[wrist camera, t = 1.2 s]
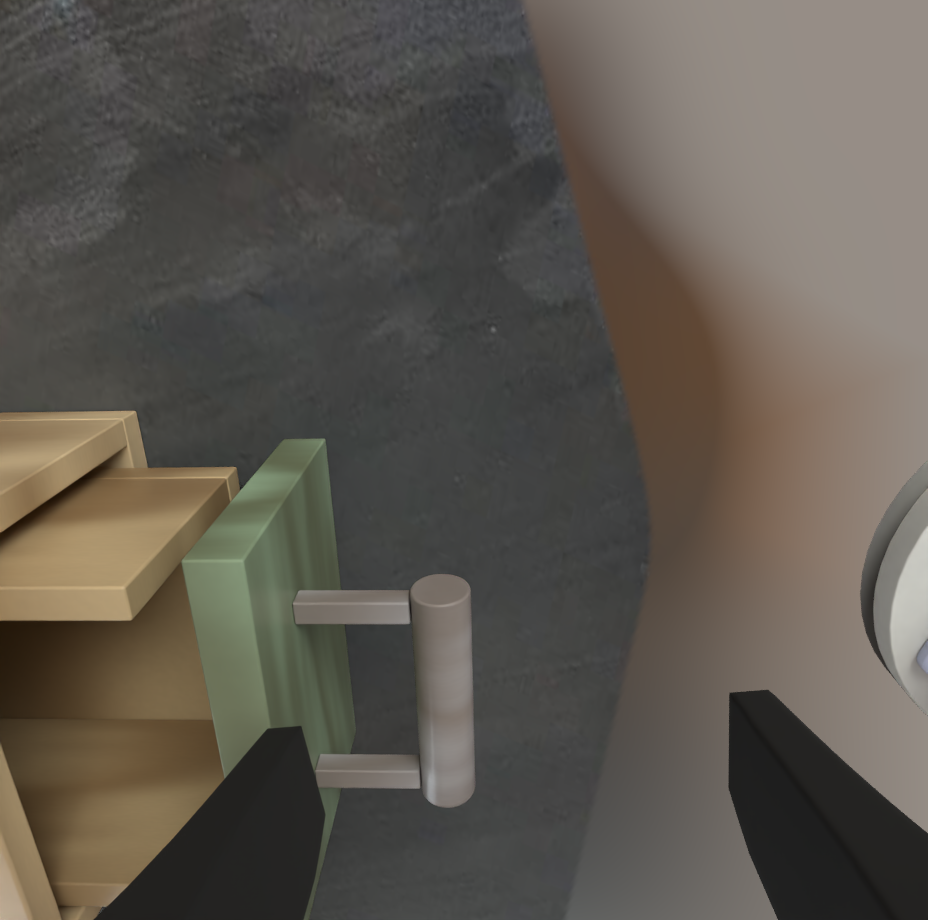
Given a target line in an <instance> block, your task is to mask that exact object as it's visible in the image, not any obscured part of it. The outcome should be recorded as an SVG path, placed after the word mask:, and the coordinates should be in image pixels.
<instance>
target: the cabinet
mask: <svg viewBox="0 0 928 920" xmlns="http://www.w3.org/2000/svg"><path fill="white" fill-rule="evenodd" d="M94 468H148V466H147V461H146V456H145V451H144V447H143V442H142V437H141V432H140V427H139V423H138V418H137V413H136V411H86V412H9V413H0V533H1V532H2V531H4V530H5V529H7V528H8V527H10V526H11V525H13V524H14V523H16V522H17V521H18V520H20V519H21V518H23V517H24V516H26V515H27V514H29V513H30V512H31V511H33V510H34V509H36V508H37V507H39V506H40V505H42V504H43V503H45V502H46V501H47V500H49V499H50V498H52V497H53V496H55V495H56V494H58V493H59V492H60V491H62V490H63V489H65V488H66V487H68V486H69V485H71V484H72V483H74V482H75V481H76V480H78V479H79V478H81V477H82V476H84V475H85V474H87V473H88V472H90V471H91V470H92V469H94ZM101 908H102V907H93V906H57V903H56V900H55V897H54V894H53V892H52V889H51V886H50V883H49V880H48V877H47V874H46V871H45V869H44V866H43V863H42V860H41V857H40V854H39V851H38V849H37V846H36V843H35V840H34V837H33V834H32V831H31V828H30V826H29V823H28V820H27V817H26V814H25V811H24V808H23V806H22V803H21V800H20V797H19V794H18V791H17V788H16V785H15V783H14V780H13V777H12V774H11V771H10V768H9V765H8V763H7V760H6V757H5V754H4V751H3V748H2V745H1V742H0V920H94V919H95V918H96V917H97V915H98V913H99V912H100V910H101Z"/></svg>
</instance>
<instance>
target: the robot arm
mask: <svg viewBox="0 0 928 920" xmlns="http://www.w3.org/2000/svg"><path fill="white" fill-rule="evenodd" d="M917 663H918V664H919V666H920V667H921V668H922V669H923V670H924V671H925V673H927V674H928V640H927V642H926V643H925V644H924V646H923V647H922V649H921V650H920V651H919V653H918V656H917ZM729 701H730V702H729V791H730V794H731V797H732V801H733V804H734V807H735V810H736V814H737V817H738V820H739V823H740V826H741V829H742V833H743V835H744V839H745V842H746V845H747V848H748V851H749V854H750V856H751V858H752V861H753V863H754V865H755V868H756V870H757V872H758V874H759V877H760V879H761V881H762V884H763V886H764V889H765V891H766V893H767V895H768V898H769V900H770V902H771V905H772V907H773V909H774V911H775V914H776V916H777V918H778V920H928V833H927V832H926V831H924V830H923V829H922V828H921V827H919V826H918V825H917V824H916V823H914V822H913V821H912V820H911V819H909V818H908V817H907V816H906V815H905V814H904V813H902V812H901V811H900V810H899V809H898V808H897V807H895V806H894V805H893V804H892V803H890V802H889V801H888V800H887V799H886V798H885V797H883V796H882V795H881V794H880V793H879V792H878V791H877V790H876V789H875V788H873V787H872V786H871V785H870V784H869V783H868V782H866V780H864V779H863V778H862V777H861V776H860V775H859V774H858V773H856V772H855V771H854V770H853V769H852V768H851V767H850V766H849V765H847V764H846V763H845V762H844V761H843V760H842V759H841V758H840V757H839V756H838V755H837V754H835V753H834V752H833V751H832V750H831V749H830V748H829V747H828V746H827V745H826V744H825V743H824V742H823V741H822V740H821V739H819V738H818V737H817V736H816V735H815V734H814V733H813V732H812V731H811V730H810V729H809V728H808V727H807V726H806V725H805V724H804V723H803V722H802V721H801V720H800V719H799V718H797V716H795V715H794V714H793V713H792V712H791V711H790V710H789V709H788V708H787V707H786V706H785V705H784V704H783V703H782V702H781V701H780V700H779V699H778V698H777V697H776V696H775V695H774V694H772V693H771V692H770V691H769V690H760V691H747V692H735V693H730V695H729ZM325 816H326V814H325V810H324V806H323V803H322V799H321V795H320V792H319V788H318V785H317V781H316V777H315V774H314V770H313V766H312V763H311V759H310V755H309V752H308V748H307V745H306V741H305V737H304V734H303V730H302V726H294V727H281V728H268V729H267V730H266V731H265V732H264V733H263V734H262V735H261V736H260V738H259V739H258V740H257V741H256V742H255V743H254V745H253V746H252V747H251V748H250V749H249V750H248V752H247V753H246V754H245V755H244V756H243V757H242V759H241V760H240V761H239V762H238V763H237V765H236V766H235V767H234V768H233V769H232V771H231V772H230V773H229V774H228V775H227V776H226V778H225V779H224V780H223V781H222V782H221V784H220V785H219V786H218V787H217V788H216V789H215V791H214V792H213V793H212V794H211V795H210V796H209V798H208V799H207V800H206V801H205V802H204V803H203V805H202V806H201V807H200V808H199V809H198V810H197V811H196V813H195V814H194V815H193V816H192V817H191V818H190V819H189V821H188V822H187V823H186V824H185V825H184V826H183V827H182V829H181V830H180V831H179V832H178V833H177V834H176V835H175V836H174V838H173V839H172V840H171V841H170V842H169V843H168V844H167V845H166V846H165V847H164V848H163V849H162V850H161V851H160V852H159V854H158V855H157V856H156V857H155V858H154V859H153V860H152V861H151V862H150V863H149V864H148V865H147V866H146V867H145V868H144V869H143V871H142V872H141V873H140V874H139V875H138V876H137V877H136V878H135V879H134V880H133V881H132V882H131V883H130V884H129V885H128V886H127V887H126V888H125V889H124V890H123V891H122V892H121V893H120V894H119V895H118V896H117V897H116V898H115V899H114V900H113V901H112V902H111V903H110V904H109V905H108V906H107V907H106V908H105V909H104V910H103V911H102V912H101V913H100V914H99V915H98V916H97V917H96V918H95V919H94V920H304V917H305V913H306V909H307V906H308V902H309V899H310V895H311V892H312V888H313V884H314V880H315V876H316V870H317V865H318V859H319V854H320V848H321V842H322V835H323V829H324V822H325Z"/></svg>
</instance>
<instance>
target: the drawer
mask: <svg viewBox="0 0 928 920" xmlns="http://www.w3.org/2000/svg"><path fill="white" fill-rule="evenodd" d="M410 621H412V638H413V654H414V670H415V686H416V702H417V718H418V735H419V751H420V755H394V754H350V753H351V749H352V745H353V741H354V737H355V733H356V728H355V718H354V709H353V699H352V690H351V680H350V670H349V661H348V651H347V642H346V632H345V624H410ZM294 726H302V730H303V734H304V737H305V741H306V745H307V748H308V752H309V755H310V759H311V763H312V766H313V770H314V774H315V777H316V781H317V785H318V788H319V792H320V795H321V799H322V803H323V806H324V810H325V814H326V816H325V822H324V829H323V835H322V842H321V848H320V854H319V859H318V865H317V870H316V876H315V880H314V884H313V888H312V892H311V895H310V899H309V902H308V906H307V909H306V913H305V917H304V920H309V917H310V913H311V909H312V905H313V901H314V897H315V893H316V889H317V885H318V881H319V877H320V873H321V869H322V865H323V861H324V857H325V853H326V849H327V845H328V841H329V837H330V833H331V829H332V825H333V821H334V817H335V813H336V809H337V805H338V801H339V797H340V793H341V789H342V788H397V789H419V788H420V787H421V783H422V791H423V794H424V796H425V797H426V798H427V800H428V801H429V802H431V803H432V804H434V805H436V806H439V807H444V808H451V807H456V806H459V805H461V804H463V803H465V802H466V801H467V800H468V799H469V798H470V797H471V796H472V794H473V792H474V790H475V749H474V708H473V666H472V624H471V589H470V586H469V584H468V583H467V582H466V581H465V580H464V579H462V578H460V577H458V576H455V575H450V574H434V575H429V576H426V577H423V578H421V579H419V580H418V581H416V582H415V583H414V584H413V585H412V587H411V589H410V590H341V584H340V575H339V565H338V555H337V546H336V536H335V527H334V517H333V508H332V498H331V488H330V479H329V469H328V460H327V450H326V441H325V439H284V440H283V441H282V442H281V443H280V444H279V445H278V447H277V448H276V449H275V450H274V451H273V453H272V454H271V455H270V456H269V457H268V458H267V460H266V461H265V462H264V463H263V464H262V466H261V467H260V468H259V469H258V470H257V471H256V473H255V474H254V475H253V476H252V477H251V479H250V480H249V481H248V482H247V483H246V484H245V486H244V487H243V488H242V489H241V490H240V486H239V480H238V474H237V468H236V467H180V468H94V469H92V470H91V471H90V472H88V473H87V474H85V475H84V476H82V477H81V478H79V479H78V480H76V481H75V482H74V483H72V484H71V485H69V486H68V487H66V488H65V489H63V490H62V491H60V492H59V493H58V494H56V495H55V496H53V497H52V498H50V499H49V500H47V501H46V502H45V503H43V504H42V505H40V506H39V507H37V508H36V509H34V510H33V511H31V512H30V513H29V514H27V515H26V516H24V517H23V518H21V519H20V520H18V521H17V522H16V523H14V524H13V525H11V526H10V527H8V528H7V529H5V530H4V531H2V532H1V533H0V742H1V745H2V748H3V751H4V754H5V757H6V760H7V763H8V765H9V768H10V771H11V774H12V777H13V780H14V783H15V785H16V788H17V791H18V794H19V797H20V800H21V803H22V806H23V808H24V811H25V814H26V817H27V820H28V823H29V826H30V828H31V831H32V834H33V837H34V840H35V843H36V846H37V849H38V851H39V854H40V857H41V860H42V863H43V866H44V869H45V871H46V874H47V877H48V880H49V883H50V886H51V889H52V892H53V894H54V897H55V900H56V903H57V906H93V907H107V906H108V905H109V904H110V903H111V902H112V901H113V900H114V899H115V898H116V897H117V896H118V895H119V894H120V893H121V892H122V891H123V890H124V889H125V888H126V887H127V886H128V885H129V884H130V883H131V882H132V881H133V880H134V879H135V878H136V877H137V876H138V875H139V874H140V873H141V872H142V871H143V869H144V868H145V867H146V866H147V865H148V864H149V863H150V862H151V861H152V860H153V859H154V858H155V857H156V856H157V855H158V854H159V852H160V851H161V850H162V849H163V848H164V847H165V846H166V845H167V844H168V843H169V842H170V841H171V840H172V839H173V838H174V836H175V835H176V834H177V833H178V832H179V831H180V830H181V829H182V827H183V826H184V825H185V824H186V823H187V822H188V821H189V819H190V818H191V817H192V816H193V815H194V814H195V813H196V811H197V810H198V809H199V808H200V807H201V806H202V805H203V803H204V802H205V801H206V800H207V799H208V798H209V796H210V795H211V794H212V793H213V792H214V791H215V789H216V788H217V787H218V786H219V785H220V784H221V782H222V781H223V780H224V779H225V778H226V776H227V775H228V774H229V773H230V772H231V771H232V769H233V768H234V767H235V766H236V765H237V763H238V762H239V761H240V760H241V759H242V757H243V756H244V755H245V754H246V753H247V752H248V750H249V749H250V748H251V747H252V746H253V745H254V743H255V742H256V741H257V740H258V739H259V738H260V736H261V735H262V734H263V733H264V732H265V731H266V730H267V729H268V728H281V727H294Z"/></svg>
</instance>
